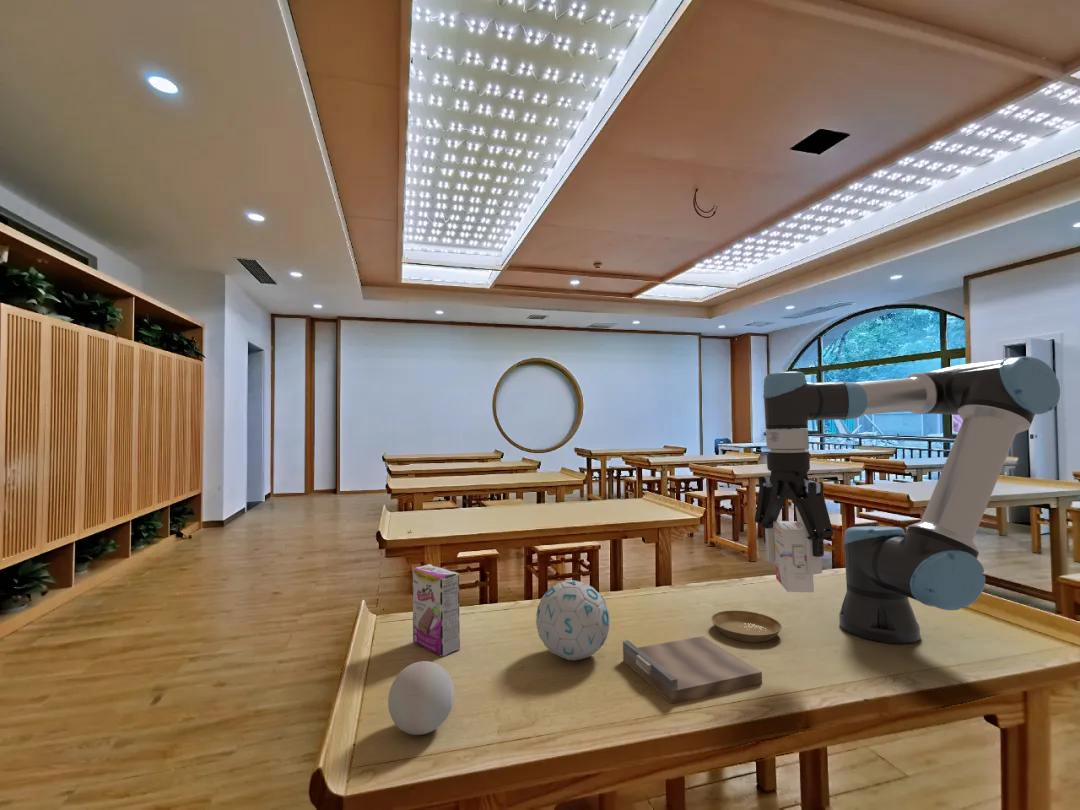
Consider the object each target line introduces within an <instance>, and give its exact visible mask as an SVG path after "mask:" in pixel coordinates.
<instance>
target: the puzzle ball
mask: <svg viewBox="0 0 1080 810" xmlns="http://www.w3.org/2000/svg"><path fill="white" fill-rule="evenodd" d="M535 625H536V630H537V632H538V637H539V638H540V640H541V641H542V643H543V644H544V646H545V648H547V650H548V651H550V652H551V653H553V654H554V655H556V656H559V657H560V658H563V659H564V660H567V661H579V660H583V659H586V658H589V657H591V656H592V655H595V654H596V653H597V652H598V651H599V650H600V649H601V647H603V646H604V643H605V641H606V639H607V637H608V635H609V630H610V611H609V609H608V605H607V603H606V600H605V599H604V597H603V595H602V594H601V593H599V592H598V591H597V590H596V589H595V587H593V586H592V585H589V584H587V583H585V582H582V581H579V580H576V579H574V580H573V579H571V580H567V581H561V582H558V583H556V584H555V585H553V586H552V587H550V588H549V589H548V590H547V591H546V592H545V593H544V594H543V596H542V597H541V599H540V601H539V603H538V605H537V610H536V617H535Z"/></svg>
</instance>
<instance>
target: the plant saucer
mask: <svg viewBox="0 0 1080 810" xmlns="http://www.w3.org/2000/svg"><path fill="white" fill-rule="evenodd" d="M710 619H711V622H712V623H713V625H714V626H715V627H716V628H717V629H718V631H719V632H721V633H722V635H724V636H726V637H727V638H730V639H732V640H735V639H736V640H735V641H739V640H740V642H744V641H745V642H746V643H764V642H768V641H770V640H772V639H773V638H775V636H777V635H778V634H779V633H780V632H781V631H782V629H783V626H782V623H780V622H779V620H777V619H776V618H773V617H772V616H768V615H766V614H763V613H758V612H755V611H748V610H734V609H733V610H723V611H718V612H716V613H714V614H712V616H711V618H710ZM744 623H746V625H745V624H744ZM748 623H749V624H750V623H751V624H755V625H757V626H758V625H759V626H762V627H764V628H761V629H762V630H760V629H759V627H758V628H755V627H752V628H749V627H748ZM751 624H750V626H752V625H751ZM740 626H741V627H740ZM744 626H747V627H748V628H746V627H745V628H744ZM754 628H755V629H754ZM765 628H766V629H765ZM747 629H748V630H747ZM749 629H750V630H749ZM765 630H766V631H765ZM759 631H760V632H759ZM745 642H744V643H745Z"/></svg>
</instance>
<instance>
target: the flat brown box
mask: <svg viewBox="0 0 1080 810" xmlns="http://www.w3.org/2000/svg"><path fill="white" fill-rule="evenodd" d="M622 655H623V656H622V657H623V658H622V659H623V660H622V661H623V662H624V663H625V664H627V665H628V666H629V667H630V668H631V669H632V670H634V672H636V673H637V674H638V675H639V676H640V677H641V678H642V679H643V680H644V681H646V683H648V684H649V685H650V686H652V688H654V689H655V691H657V692H658V693H659V694H661V695H662V696H663V697H664V698H665V700H667V701H668V702H669V703H671V704H676V703H681V702H686V701H689V700H694V699H699V698H703V697H707V696H712V695H716V694H721V693H724V692H729V691H734V690H738V689H739V690H740V689H742V688H746V687H751V686H756V685H761V684H763V672H762V670H759V669H758V668H756V667H755V666H753V665H751V664H749V663H748V662H746V661H744V660H743V659H741V658H739V657H738V656H736V655H734V654H733V653H732V652H730V651H728V650H726V649H724V648H723V647H721V646H720V645H718V644H717V643H715V642H713V641H711V640H710V639H708V638H706V637H705V636H703V635H702V636H696V637H695V636H694V637H690V638H686V639H685V638H684V639H679V640H673V641H668V642H662V643H656V644H651V645H647V646H640V647H637V646H636V645H634V644H633V642H631V641H629V640H623V641H622Z"/></svg>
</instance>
